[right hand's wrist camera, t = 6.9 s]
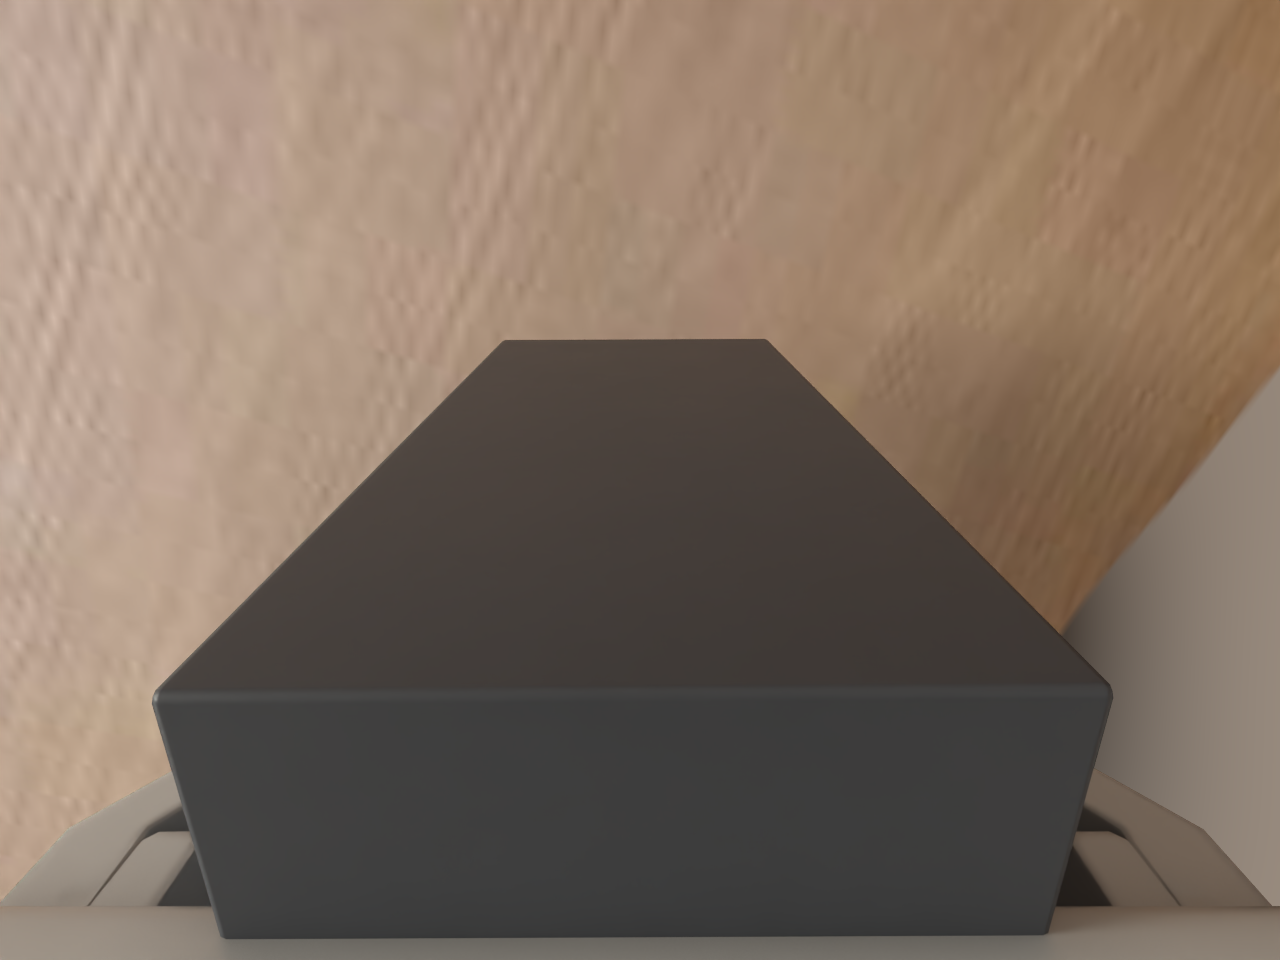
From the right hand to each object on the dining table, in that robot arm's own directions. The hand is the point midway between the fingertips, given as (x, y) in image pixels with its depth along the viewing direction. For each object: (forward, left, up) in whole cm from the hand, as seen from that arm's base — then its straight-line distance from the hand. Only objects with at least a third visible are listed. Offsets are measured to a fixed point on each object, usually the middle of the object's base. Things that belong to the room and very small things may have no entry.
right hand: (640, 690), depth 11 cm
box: (+7, 0, -8) cm, 10 cm away
